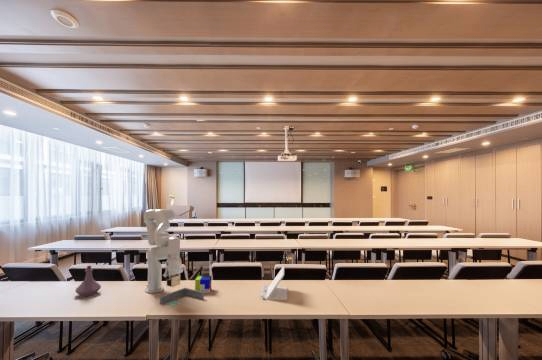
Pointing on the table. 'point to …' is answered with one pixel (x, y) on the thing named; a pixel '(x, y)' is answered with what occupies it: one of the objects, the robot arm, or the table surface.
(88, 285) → the flask
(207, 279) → the puzzle toy
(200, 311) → the table surface
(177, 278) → the birch block
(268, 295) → the tablet stand
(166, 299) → the arena
